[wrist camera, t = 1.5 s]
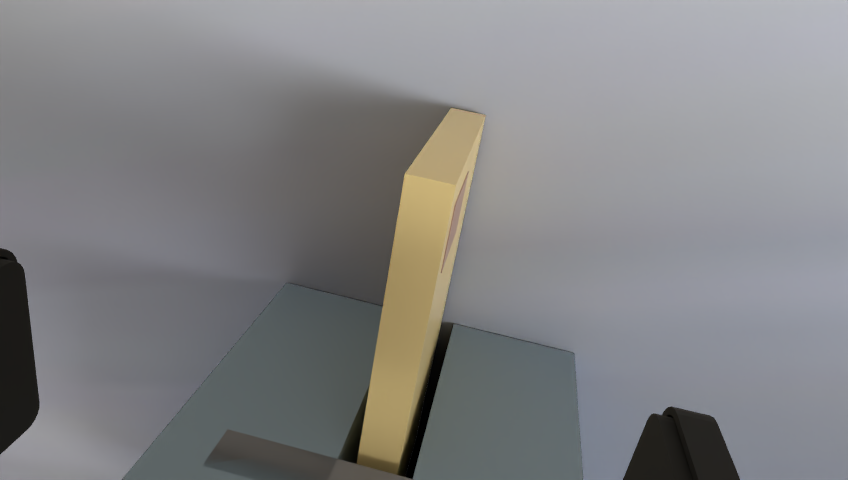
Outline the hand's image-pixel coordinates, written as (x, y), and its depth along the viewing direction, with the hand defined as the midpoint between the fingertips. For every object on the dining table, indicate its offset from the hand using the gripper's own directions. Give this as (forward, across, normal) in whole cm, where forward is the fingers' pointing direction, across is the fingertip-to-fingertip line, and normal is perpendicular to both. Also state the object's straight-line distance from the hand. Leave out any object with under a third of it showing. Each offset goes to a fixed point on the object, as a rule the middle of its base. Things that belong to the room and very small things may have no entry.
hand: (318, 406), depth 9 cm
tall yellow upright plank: (+11, -1, +4) cm, 11 cm away
